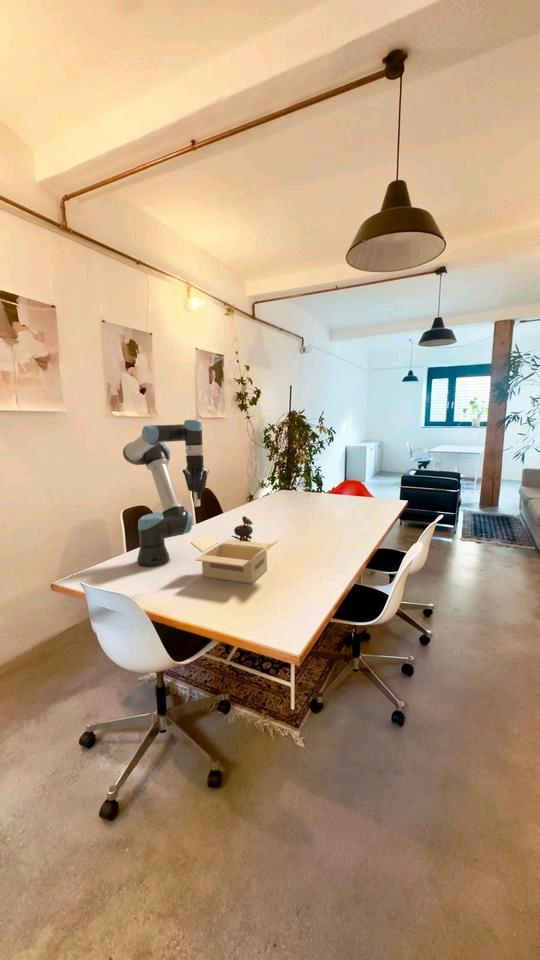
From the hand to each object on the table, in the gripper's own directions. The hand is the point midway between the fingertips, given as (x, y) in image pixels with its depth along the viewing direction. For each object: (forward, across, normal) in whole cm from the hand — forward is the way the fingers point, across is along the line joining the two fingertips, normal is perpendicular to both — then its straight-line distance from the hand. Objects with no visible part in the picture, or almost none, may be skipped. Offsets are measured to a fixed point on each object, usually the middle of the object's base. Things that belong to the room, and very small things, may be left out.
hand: (197, 506), depth 174 cm
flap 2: (+19, +30, 0) cm, 36 cm away
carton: (+30, +19, -1) cm, 35 cm away
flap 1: (+19, +7, -1) cm, 20 cm away
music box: (+30, +10, +24) cm, 40 cm away
